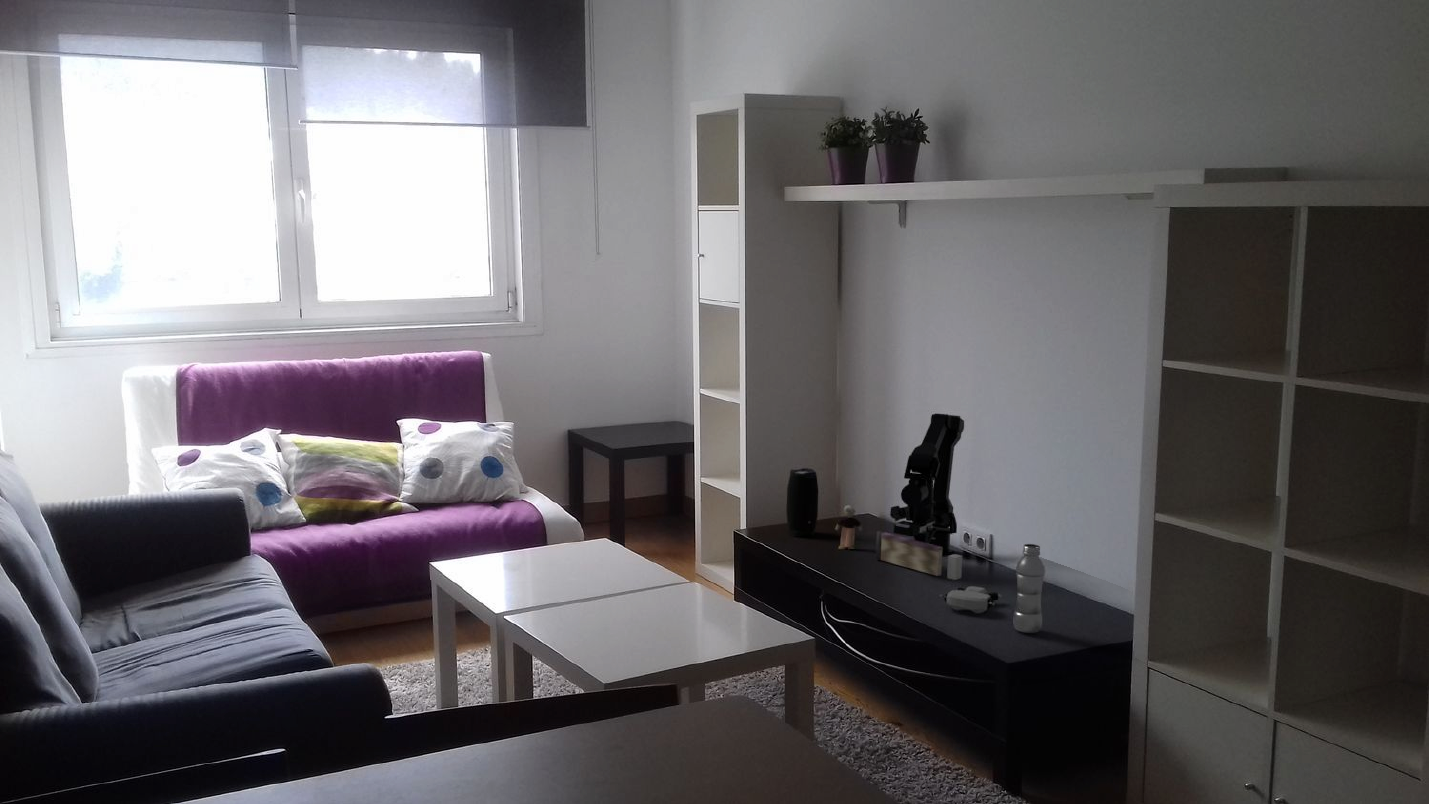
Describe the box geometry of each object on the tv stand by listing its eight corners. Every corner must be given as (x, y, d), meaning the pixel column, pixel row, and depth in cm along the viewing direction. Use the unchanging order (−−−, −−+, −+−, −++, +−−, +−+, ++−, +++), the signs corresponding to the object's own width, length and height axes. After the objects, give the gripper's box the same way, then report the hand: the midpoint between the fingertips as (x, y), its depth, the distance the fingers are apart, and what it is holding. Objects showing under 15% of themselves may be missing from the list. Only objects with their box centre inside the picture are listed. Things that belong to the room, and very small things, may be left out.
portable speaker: (818, 538, 358) (820, 473, 356) (787, 537, 358) (789, 472, 355) (815, 531, 367) (816, 467, 364) (784, 530, 366) (786, 467, 364)
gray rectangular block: (953, 576, 320) (954, 554, 319) (961, 577, 318) (962, 555, 317) (947, 578, 317) (948, 556, 317) (954, 580, 316) (956, 557, 315)
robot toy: (954, 599, 302) (938, 611, 288) (955, 581, 301) (939, 592, 288) (1003, 607, 296) (989, 619, 283) (1004, 588, 296) (990, 600, 283)
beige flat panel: (874, 558, 334) (875, 531, 333) (879, 557, 336) (880, 530, 335) (936, 576, 317) (937, 548, 316) (941, 574, 319) (943, 547, 318)
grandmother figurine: (835, 550, 344) (837, 506, 343) (834, 546, 348) (835, 503, 347) (862, 550, 345) (864, 506, 343) (860, 547, 349) (862, 504, 347)
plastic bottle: (1038, 627, 278) (1042, 542, 275) (1044, 636, 271) (1049, 550, 268) (1009, 626, 278) (1014, 541, 275) (1015, 636, 271) (1020, 549, 268)
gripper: (917, 487, 337) (916, 542, 339) (877, 499, 323) (876, 556, 326) (951, 493, 329) (950, 549, 331) (911, 506, 316) (911, 563, 318)
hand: (921, 554), depth 327 cm, fingers closed
